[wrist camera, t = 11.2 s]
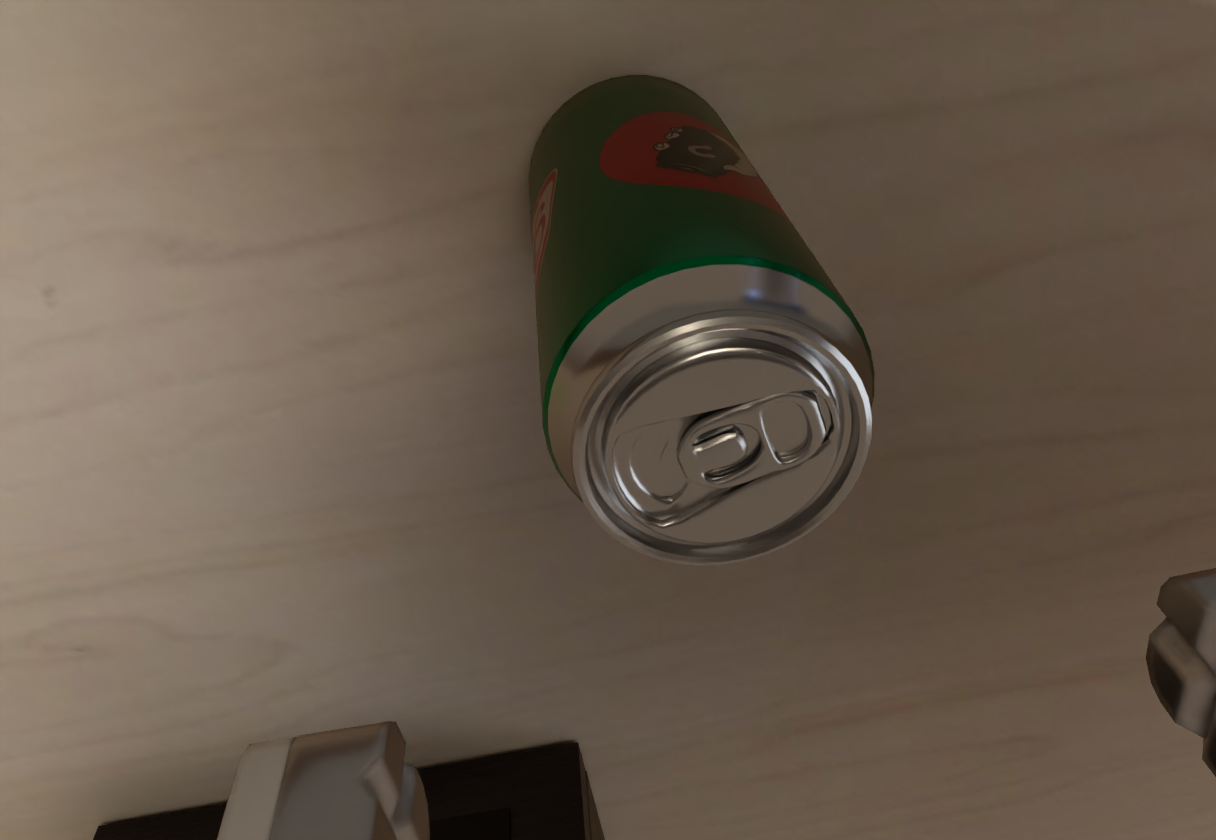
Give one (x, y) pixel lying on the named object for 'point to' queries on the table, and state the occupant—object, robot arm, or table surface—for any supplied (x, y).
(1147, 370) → the table surface
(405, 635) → the table surface
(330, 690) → the table surface
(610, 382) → the soda can
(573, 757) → the oven door
